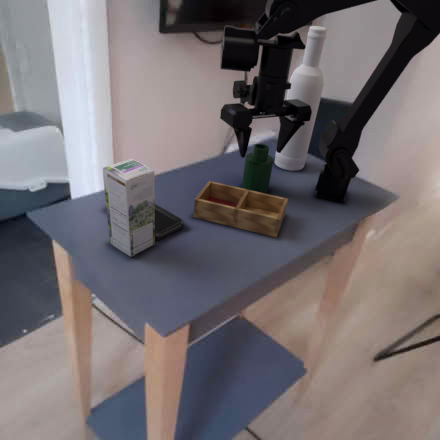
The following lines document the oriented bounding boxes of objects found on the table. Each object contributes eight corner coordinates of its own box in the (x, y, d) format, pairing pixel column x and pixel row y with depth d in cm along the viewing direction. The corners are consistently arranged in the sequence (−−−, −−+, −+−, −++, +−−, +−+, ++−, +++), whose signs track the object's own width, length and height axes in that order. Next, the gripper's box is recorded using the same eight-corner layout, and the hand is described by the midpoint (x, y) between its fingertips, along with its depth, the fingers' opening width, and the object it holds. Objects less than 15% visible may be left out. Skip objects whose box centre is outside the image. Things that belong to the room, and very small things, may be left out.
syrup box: (134, 232, 73) (129, 156, 63) (156, 245, 70) (154, 168, 61) (109, 244, 69) (100, 165, 60) (131, 259, 67) (126, 179, 57)
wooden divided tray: (284, 215, 82) (288, 198, 80) (276, 237, 76) (280, 219, 73) (207, 197, 85) (208, 180, 82) (193, 217, 79) (194, 199, 76)
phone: (155, 236, 70) (103, 204, 77) (155, 242, 71) (104, 209, 78) (186, 221, 75) (135, 191, 81) (186, 226, 76) (135, 196, 82)
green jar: (269, 187, 92) (278, 144, 85) (264, 198, 87) (272, 154, 81) (245, 181, 93) (251, 139, 86) (238, 192, 88) (244, 148, 82)
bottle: (271, 167, 100) (296, 26, 80) (276, 155, 106) (302, 22, 86) (301, 173, 99) (336, 32, 79) (306, 162, 104) (338, 27, 84)
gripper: (289, 62, 83) (275, 136, 93) (210, 64, 75) (205, 144, 86) (322, 76, 76) (303, 155, 86) (239, 80, 68) (229, 165, 79)
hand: (260, 154), depth 84 cm, fingers open, 9 cm apart
